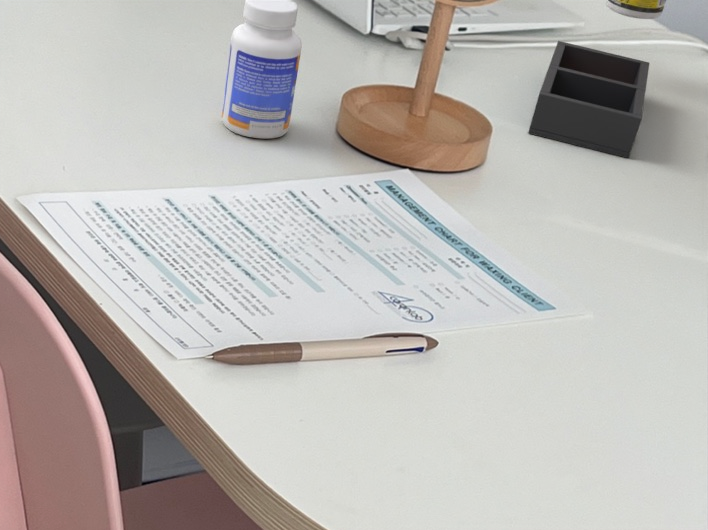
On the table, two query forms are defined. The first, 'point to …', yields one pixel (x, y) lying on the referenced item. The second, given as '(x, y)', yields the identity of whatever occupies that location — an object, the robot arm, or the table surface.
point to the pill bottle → (262, 70)
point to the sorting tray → (591, 99)
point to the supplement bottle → (637, 8)
